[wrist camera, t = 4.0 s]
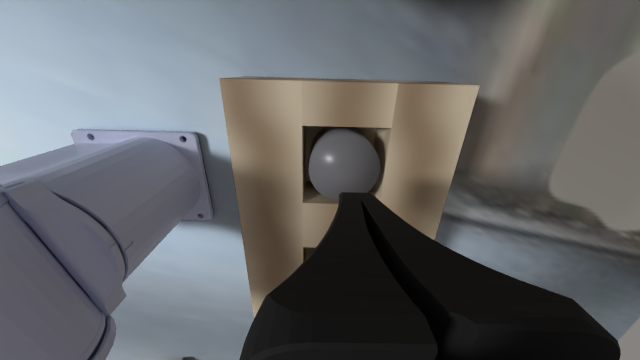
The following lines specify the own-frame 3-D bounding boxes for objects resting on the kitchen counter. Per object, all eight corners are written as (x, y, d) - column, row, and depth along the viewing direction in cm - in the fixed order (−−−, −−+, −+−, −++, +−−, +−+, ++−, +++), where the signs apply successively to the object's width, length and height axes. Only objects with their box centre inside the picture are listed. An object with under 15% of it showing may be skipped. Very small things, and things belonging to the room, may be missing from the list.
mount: (270, 327, 28) (261, 370, 24) (244, 76, 17) (219, 78, 12) (384, 329, 29) (395, 372, 25) (440, 81, 17) (479, 85, 13)
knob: (310, 177, 18) (308, 200, 15) (311, 121, 17) (308, 133, 13) (366, 179, 19) (375, 201, 15) (372, 123, 17) (385, 135, 14)
